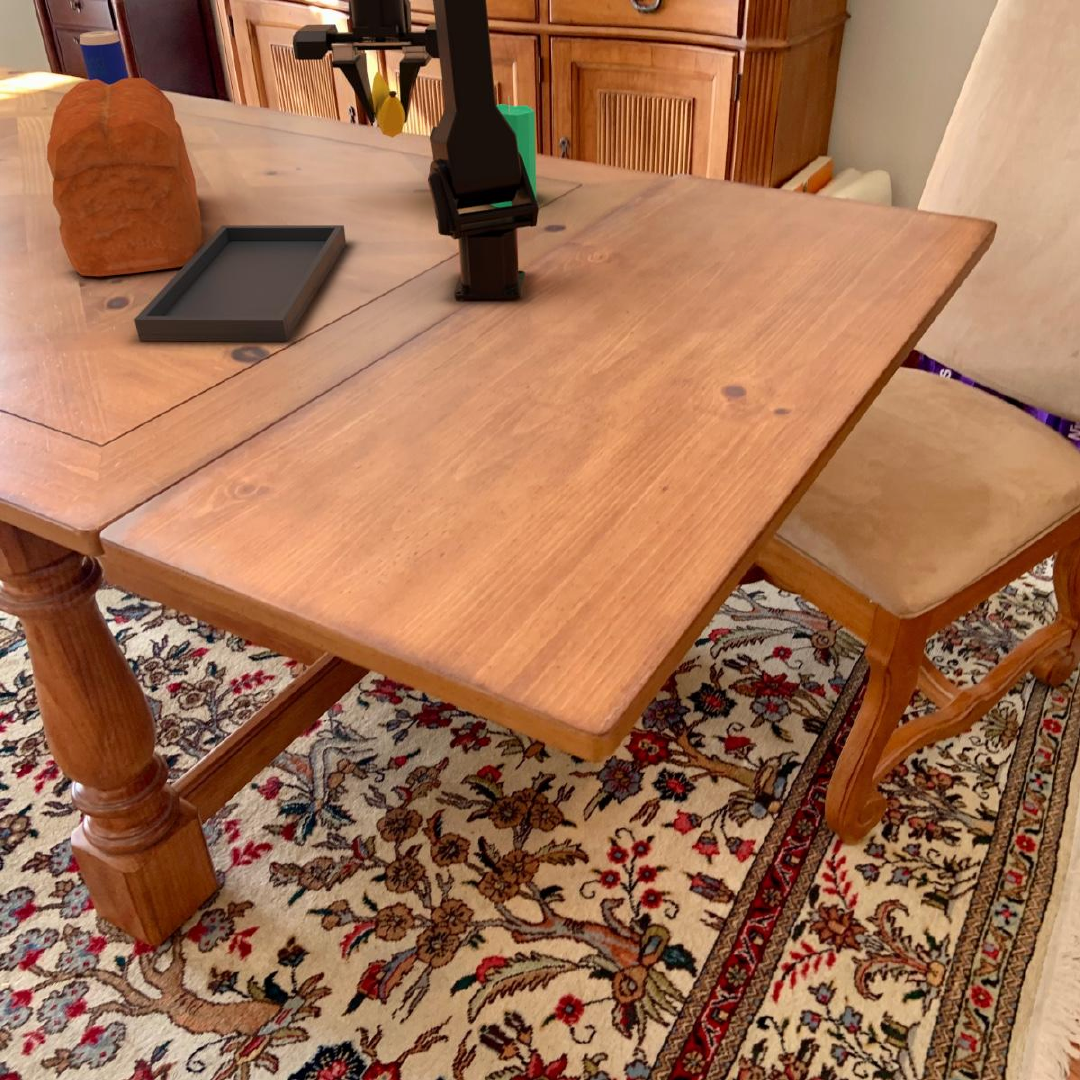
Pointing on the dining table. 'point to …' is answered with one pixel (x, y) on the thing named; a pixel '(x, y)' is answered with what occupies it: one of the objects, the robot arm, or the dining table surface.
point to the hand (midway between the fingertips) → (389, 122)
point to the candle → (522, 139)
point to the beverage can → (103, 56)
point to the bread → (122, 180)
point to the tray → (244, 285)
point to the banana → (387, 108)
